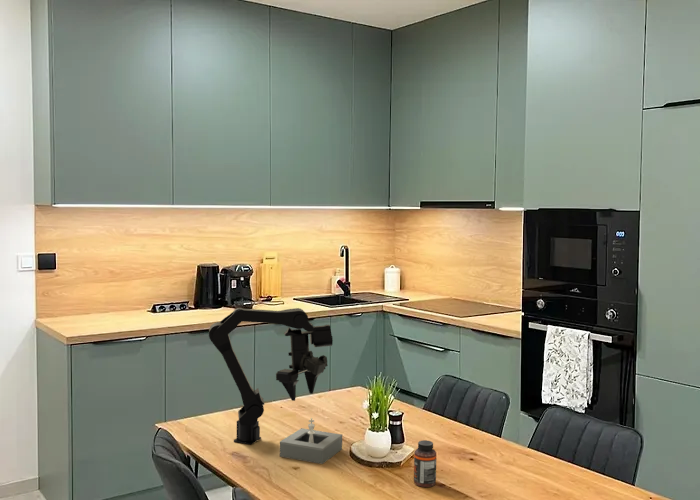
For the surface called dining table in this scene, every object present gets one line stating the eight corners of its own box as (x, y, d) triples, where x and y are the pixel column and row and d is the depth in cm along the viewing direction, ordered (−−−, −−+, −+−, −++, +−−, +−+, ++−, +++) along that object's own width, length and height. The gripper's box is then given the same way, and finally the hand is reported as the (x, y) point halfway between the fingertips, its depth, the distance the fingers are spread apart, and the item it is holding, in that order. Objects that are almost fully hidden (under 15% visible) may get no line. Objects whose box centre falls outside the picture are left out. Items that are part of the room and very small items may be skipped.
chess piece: (319, 453, 207) (320, 420, 207) (303, 454, 207) (303, 420, 206) (318, 448, 212) (319, 415, 211) (302, 448, 212) (303, 415, 211)
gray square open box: (279, 456, 206) (279, 441, 205) (301, 442, 219) (301, 428, 218) (322, 464, 200) (322, 448, 200) (342, 449, 213) (342, 434, 213)
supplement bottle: (411, 479, 190) (412, 438, 189) (433, 479, 190) (434, 438, 190) (415, 488, 184) (416, 446, 183) (437, 487, 184) (438, 445, 184)
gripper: (301, 356, 208) (304, 407, 209) (337, 344, 224) (340, 392, 225) (273, 353, 215) (276, 403, 216) (310, 342, 230) (312, 389, 231)
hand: (302, 397), depth 222 cm, fingers open, 9 cm apart
